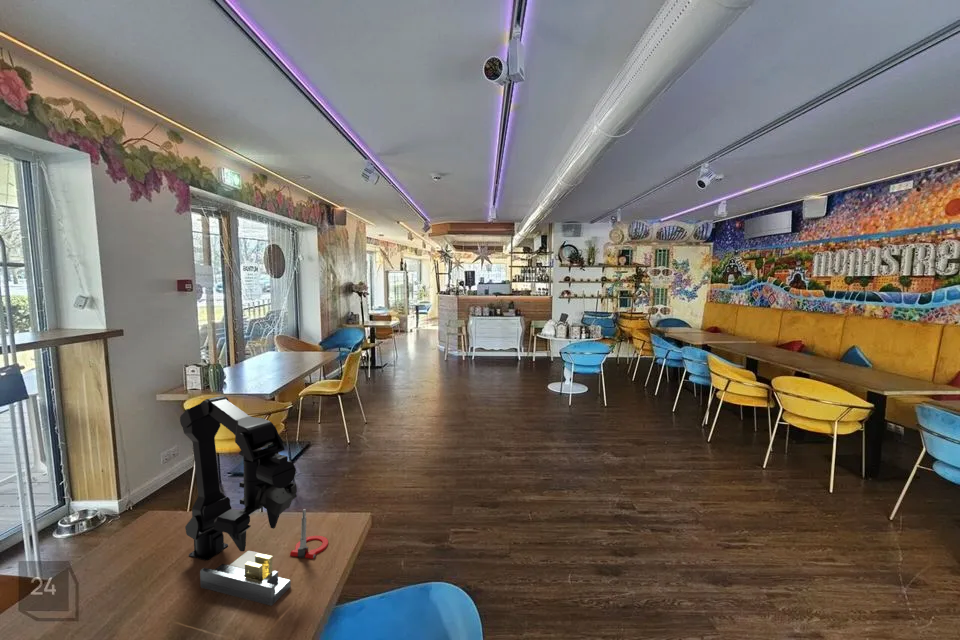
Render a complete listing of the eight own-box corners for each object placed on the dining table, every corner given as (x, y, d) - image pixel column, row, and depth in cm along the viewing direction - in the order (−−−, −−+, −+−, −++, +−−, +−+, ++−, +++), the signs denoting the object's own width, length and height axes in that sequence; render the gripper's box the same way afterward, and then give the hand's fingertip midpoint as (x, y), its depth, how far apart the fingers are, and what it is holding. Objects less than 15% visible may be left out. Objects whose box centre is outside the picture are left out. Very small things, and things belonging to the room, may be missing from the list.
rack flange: (200, 588, 94) (200, 570, 94) (222, 571, 100) (222, 554, 100) (271, 606, 89) (271, 587, 89) (290, 587, 95) (290, 569, 95)
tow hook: (306, 537, 115) (286, 557, 106) (308, 493, 115) (287, 509, 106) (333, 541, 114) (315, 561, 105) (335, 496, 114) (317, 512, 104)
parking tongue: (229, 566, 102) (229, 564, 102) (248, 551, 108) (248, 550, 108) (255, 572, 100) (255, 571, 100) (273, 557, 106) (273, 555, 106)
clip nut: (245, 584, 93) (244, 564, 93) (258, 572, 97) (258, 553, 97) (259, 588, 92) (259, 567, 92) (272, 576, 96) (272, 556, 96)
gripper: (254, 501, 83) (255, 572, 84) (313, 464, 101) (313, 523, 102) (211, 492, 86) (212, 561, 87) (276, 458, 104) (276, 515, 105)
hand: (258, 539), depth 95 cm, fingers open, 9 cm apart
